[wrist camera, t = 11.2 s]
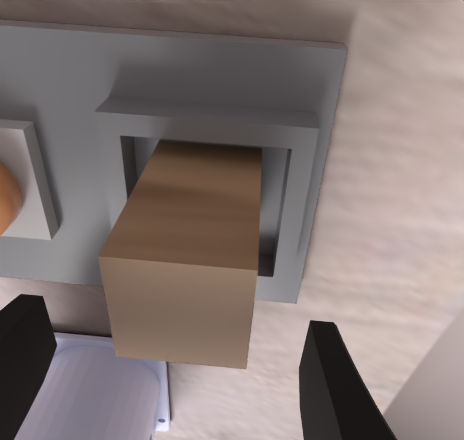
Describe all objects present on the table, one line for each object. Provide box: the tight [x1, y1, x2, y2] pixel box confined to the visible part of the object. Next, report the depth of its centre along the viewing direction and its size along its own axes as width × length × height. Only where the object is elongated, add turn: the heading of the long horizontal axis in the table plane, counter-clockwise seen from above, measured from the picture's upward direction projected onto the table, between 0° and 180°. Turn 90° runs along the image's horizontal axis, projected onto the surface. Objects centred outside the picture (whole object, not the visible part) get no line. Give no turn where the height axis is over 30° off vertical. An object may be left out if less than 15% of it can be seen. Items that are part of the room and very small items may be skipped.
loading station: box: [0, 19, 347, 304], centre depth 17 cm, size 12×18×2 cm, turn 87°
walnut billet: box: [98, 140, 262, 369], centre depth 14 cm, size 4×4×7 cm
